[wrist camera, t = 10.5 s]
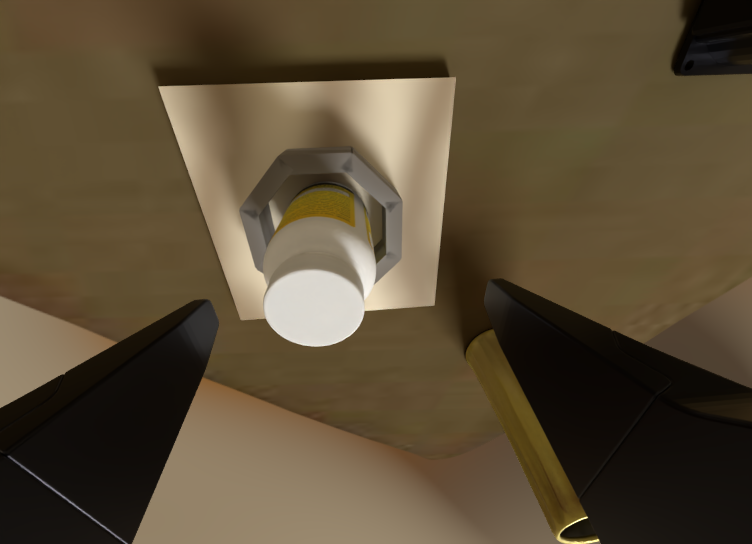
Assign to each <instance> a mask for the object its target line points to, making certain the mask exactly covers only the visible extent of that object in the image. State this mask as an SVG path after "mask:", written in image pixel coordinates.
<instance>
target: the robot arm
mask: <svg viewBox="0 0 752 544" xmlns="http://www.w3.org/2000/svg"><path fill="white" fill-rule="evenodd" d="M686 64H687V66H686V68H685V65H686ZM674 74H675V75H676V76H697V75H728V74H752V0H702V2H701V5H700V7H699V9H698V12H697V14H696V17H695V19H694V21H693V24H692V26H691V29H690V31H689V34H688V36H687V38H686V41H685V43H684V46H683V48H682V50H681V53H680V55H679V58H678V60H677V63H676V65H675V68H674ZM484 305H485V308H486V311H487V314H488V316H489V319H490V322H491V324H492V327H493V330H494V332H495V335H496V338H497V340H498V343H499V345H500V347H501V349H502V351H503V353H504V355H505V357H506V359H507V361H508V363H509V365H510V367H511V369H512V371H513V373H514V375H515V377H516V379H517V381H518V383H519V384H520V386H521V388H522V390H523V392H524V394H525V396H526V398H527V400H528V402H529V404H530V406H531V408H532V410H533V412H534V414H535V416H536V418H537V420H538V421H539V423H540V425H541V427H542V429H543V431H544V433H545V435H546V437H547V439H548V441H549V443H550V445H551V447H552V449H553V451H554V453H555V455H556V457H557V459H558V460H559V462H560V464H561V466H562V468H563V470H564V472H565V474H566V476H567V478H568V480H569V482H570V484H571V486H572V488H573V490H574V492H575V494H576V496H577V497H578V499H580V500H579V502H580V504H581V506H582V508H583V510H584V512H585V514H586V515H587V517H588V519H589V521H590V523H591V525H592V527H593V529H594V531H595V533H596V535H597V537H598V539H599V541H600V543H601V544H752V388H749V387H746V386H744V385H741V384H739V383H737V382H734V381H732V380H729V379H727V378H724V377H722V376H720V375H717V374H714V373H712V372H710V371H707V370H705V369H702V368H700V367H697V366H695V365H693V364H690V363H688V362H685V361H683V360H680V359H678V358H676V357H673V356H671V355H668V354H666V353H664V352H661V351H659V350H656V349H654V348H652V347H649V346H647V345H645V344H643V343H641V342H638V341H636V340H634V339H632V338H629V337H627V336H625V335H623V334H621V333H619V332H616V331H612V330H611V329H610V328H608V327H606V326H603V325H601V324H599V323H597V322H595V321H593V320H590V319H588V318H586V317H584V316H582V315H580V314H577V313H575V312H573V311H571V310H569V309H567V308H565V307H562V306H560V305H558V304H556V303H554V302H552V301H549V300H547V299H545V298H543V297H541V296H539V295H536V294H534V293H532V292H530V291H528V290H526V289H524V288H521V287H519V286H517V285H515V284H513V283H511V282H508V281H506V280H504V279H490V280H489V281H488V283H487V288H486V293H485V298H484ZM218 326H219V320H218V317H217V315H216V312H215V310H214V308H213V305H212V303H211V301H210V300H208V299H201V300H194V301H192V302H190V303H188V304H186V305H185V306H183V307H181V308H179V309H178V310H176V311H174V312H172V313H170V314H169V315H167V316H165V317H163V318H161V319H160V320H158V321H156V322H154V323H153V324H151V325H149V326H147V327H145V328H144V329H142V330H140V331H138V332H137V333H135V334H133V335H131V336H129V337H128V338H126V339H124V340H122V341H121V342H119V343H117V344H115V345H113V346H112V347H110V348H108V349H107V350H105V351H103V352H101V353H99V354H98V355H96V356H94V357H92V358H90V359H89V360H87V361H85V362H83V363H81V364H80V365H78V366H76V367H75V368H73V369H71V370H69V371H68V372H66V373H65V375H60V376H58V377H56V378H55V379H53V380H51V381H49V382H47V383H46V384H44V385H42V386H41V387H38V388H37V389H35V390H33V391H31V392H29V393H28V394H26V395H24V396H22V397H20V398H18V399H17V400H15V401H13V402H11V403H9V404H7V405H5V406H3V407H1V408H0V544H132V542H133V540H134V538H135V535H136V533H137V531H138V528H139V526H140V523H141V521H142V519H143V516H144V514H145V512H146V509H147V507H148V504H149V502H150V500H151V497H152V495H153V493H154V490H155V488H156V486H157V483H158V481H159V479H160V476H161V474H162V471H163V469H164V467H165V464H166V462H167V460H168V457H169V455H170V453H171V450H172V448H173V445H174V443H175V441H176V438H177V436H178V434H179V431H180V429H181V427H182V424H183V422H184V419H185V417H186V415H187V412H188V410H189V408H190V405H191V403H192V400H193V398H194V396H195V393H196V391H197V389H198V386H199V384H200V382H201V379H202V377H203V374H204V372H205V369H206V366H207V363H208V360H209V357H210V354H211V350H212V347H213V343H214V340H215V337H216V333H217V330H218Z"/></svg>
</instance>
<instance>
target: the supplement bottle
mask: <svg viewBox="0 0 752 544" xmlns="http://www.w3.org/2000/svg"><path fill="white" fill-rule="evenodd" d="M263 273H264V278H265V281H266V284H267V286H268V287H267V290H266V292H265V295H264V299H263V310H264V315H265V317H266V319H267V321H268V323H269V324H270V326H271V327H272V328H273V329H274V330H275V331H276V332H277V333H278V334H279V335H281V336H282V337H284V338H285V339H287V340H289V341H292V342H294V343H297V344H301V345H306V346H326V345H331V344H334V343H337V342H340V341H342V340H344V339H345V338H347V337H349V336H350V335H351V334H352V333H354V331H355V330H356V329H357V328H358V327H359V325H360V323H361V321H362V319H363V315H364V310H365V304H364V300H365V299H366V298H367V297H368V295H369V294H370V292H371V290H372V288H373V285H374V282H375V278H376V260H375V254H374V248H373V242H372V235H371V229H370V222H369V217H368V212H367V209H366V207H365V205H364V203H363V201H362V200H361V198H360V197H359V196H358V195H357V194H356V193H355V192H354V191H353V190H351V189H350V188H348V187H347V186H345V185H342V184H340V183H336V182H329V181H323V182H317V183H313V184H311V185H308V186H307V187H305V188H303V189H302V190H301V191H300V192H299V193H298V194H297V195H296V196H295V197H294V198H293V200H292V201H291V203H290V205H289V206H288V208H287V210H286V212H285V214H284V216H283V218H282V220H281V222H280V224H279V225H278V227H277V229H276V231H275V233H274V235H273V237H272V238H271V240H270V242H269V244H268V247H267V249H266V252H265V255H264V260H263Z"/></svg>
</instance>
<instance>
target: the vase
mask: <svg viewBox="0 0 752 544" xmlns="http://www.w3.org/2000/svg"><path fill="white" fill-rule="evenodd" d="M466 361H467V363H468V364H469V366H470V367H471V368H472V370H473V371H474V373H475V375H476V377H477V378H478V380H479V382H480V384H481V386H482V388H483V389H484V392H485V394H486V396H487V398H488V400H489V402H490V404H491V406H492V408H493V409H494V411H495V413H496V415H497V417H498V419H499V421H500V423H501V425H502V427H503V429H504V431H505V433H506V435H507V437H508V439H509V441H510V443H511V445H512V447H513V449H514V451H515V454H516V456H517V458H518V460H519V462H520V464H521V466H522V469H523V471H524V473H525V475H526V477H527V479H528V482H529V483H530V486H531V488H532V490H533V492H534V494H535V496H536V498H537V500H538V502H539V505H540V507H541V509H542V511H543V513H544V515H545V517H546V520H547V522H548V524H549V526H550V528H551V531H552V533H553V534H554V536H555V537H556V539H557V540H558V541H560V542H562V543H566V544H586V543H592V542H597V541H599V539H598V537H597V535H596V533H595V531H594V529H593V527H592V525H591V523H590V521H589V519H588V517H587V515H586V514H585V512H584V510H583V508H582V506H581V504H580V502H579V500H580V499H578V497H577V496H576V494H575V492H574V490H573V488H572V486H571V484H570V482H569V480H568V478H567V476H566V474H565V472H564V470H563V468H562V466H561V464H560V462H559V460H558V459H557V457H556V455H555V453H554V451H553V449H552V447H551V445H550V443H549V441H548V439H547V437H546V435H545V433H544V431H543V429H542V427H541V425H540V423H539V421H538V420H537V418H536V416H535V414H534V412H533V410H532V408H531V406H530V404H529V402H528V400H527V398H526V396H525V394H524V392H523V390H522V388H521V386H520V384H519V383H518V381H517V379H516V377H515V375H514V373H513V371H512V369H511V367H510V365H509V363H508V361H507V359H506V357H505V355H504V353H503V351H502V349H501V347H500V345H499V343H498V340H497V338H496V335H495V332H494V330H493V329H491V330H488V331H485V332H483V333H482V334H480V335H479V336H477V337H476V338H475V339H474V340H473V341H472V342H471V343H470V344H469V346H468V348H467V351H466Z"/></svg>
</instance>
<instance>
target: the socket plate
mask: <svg viewBox="0 0 752 544" xmlns="http://www.w3.org/2000/svg"><path fill="white" fill-rule="evenodd" d="M455 82H456V77H450V78H417V79H385V80H353V81H320V82H288V83H256V84H223V85H191V86H159V90H160V93H161V96H162V99H163V101H164V104H165V107H166V110H167V113H168V116H169V118H170V121H171V124H172V127H173V130H174V132H175V135H176V138H177V141H178V144H179V147H180V149H181V152H182V155H183V158H184V161H185V163H186V166H187V169H188V172H189V175H190V178H191V180H192V183H193V186H194V189H195V192H196V194H197V197H198V200H199V203H200V206H201V209H202V211H203V214H204V217H205V220H206V223H207V226H208V228H209V231H210V234H211V237H212V240H213V242H214V245H215V248H216V251H217V254H218V257H219V259H220V262H221V265H222V268H223V271H224V273H225V276H226V279H227V282H228V285H229V288H230V290H231V293H232V296H233V299H234V302H235V304H236V307H237V310H238V313H239V316H240V319H241V320H250V319H263V318H266V317H265V315H264V310H263V299H264V295H265V292H266V290H267V287H268V286H267V284H266V281H265V278H264V273H263V260H264V255H265V252H266V249H267V247H268V244H269V242H270V240H271V238H272V237H273V235H274V233H275V231H276V229H277V227H278V225H279V224H280V222H281V220H282V218H283V216H284V214H285V212H286V210H287V208H288V206H289V205H290V203H291V201H292V200H293V198H294V197H295V196H296V195H297V194H298V193H299V192H300V191H301V190H302V189H303V188H305V187H307V186H308V185H311V184H313V183H317V182H323V181H329V182H336V183H340V184H342V185H345V186H347V187H348V188H350V189H351V190H353V191H354V192H355V193H356V194H357V195H358V196H359V197H360V198H361V200H362V201H363V203H364V205H365V207H366V209H367V212H368V217H369V222H370V229H371V235H372V242H373V248H374V254H375V260H376V278H375V282H374V285H373V288H372V290H371V292H370V294H369V295H368V297H367V298H366V299H365V300H364V304H365V310H364V311H368V310H381V309H394V308H407V307H420V306H433V305H434V304H435V293H436V283H437V272H438V261H439V251H440V240H441V230H442V219H443V209H444V198H445V187H446V177H447V166H448V156H449V145H450V134H451V124H452V113H453V103H454V92H455Z"/></svg>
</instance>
